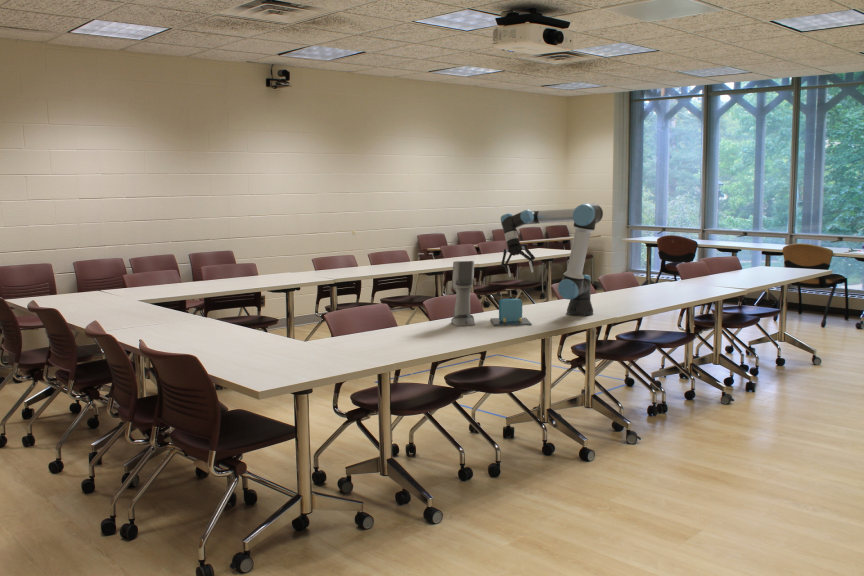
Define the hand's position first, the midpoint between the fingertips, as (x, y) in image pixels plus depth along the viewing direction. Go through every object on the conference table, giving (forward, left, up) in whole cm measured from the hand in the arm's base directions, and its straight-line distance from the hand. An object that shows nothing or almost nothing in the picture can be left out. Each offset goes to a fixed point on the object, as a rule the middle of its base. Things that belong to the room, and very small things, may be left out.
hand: (521, 274), depth 422 cm
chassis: (+10, +27, -23) cm, 37 cm away
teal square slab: (+10, +27, -23) cm, 37 cm away
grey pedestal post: (+36, +28, -24) cm, 51 cm away
